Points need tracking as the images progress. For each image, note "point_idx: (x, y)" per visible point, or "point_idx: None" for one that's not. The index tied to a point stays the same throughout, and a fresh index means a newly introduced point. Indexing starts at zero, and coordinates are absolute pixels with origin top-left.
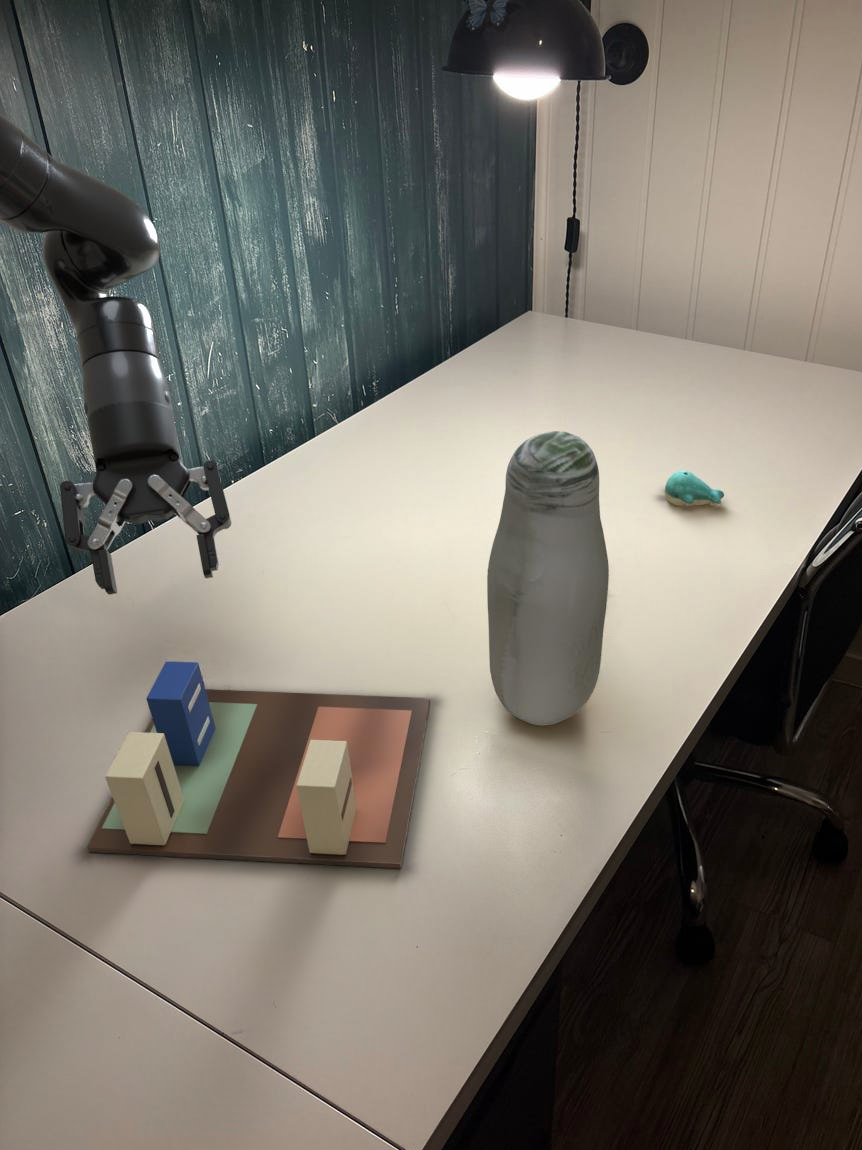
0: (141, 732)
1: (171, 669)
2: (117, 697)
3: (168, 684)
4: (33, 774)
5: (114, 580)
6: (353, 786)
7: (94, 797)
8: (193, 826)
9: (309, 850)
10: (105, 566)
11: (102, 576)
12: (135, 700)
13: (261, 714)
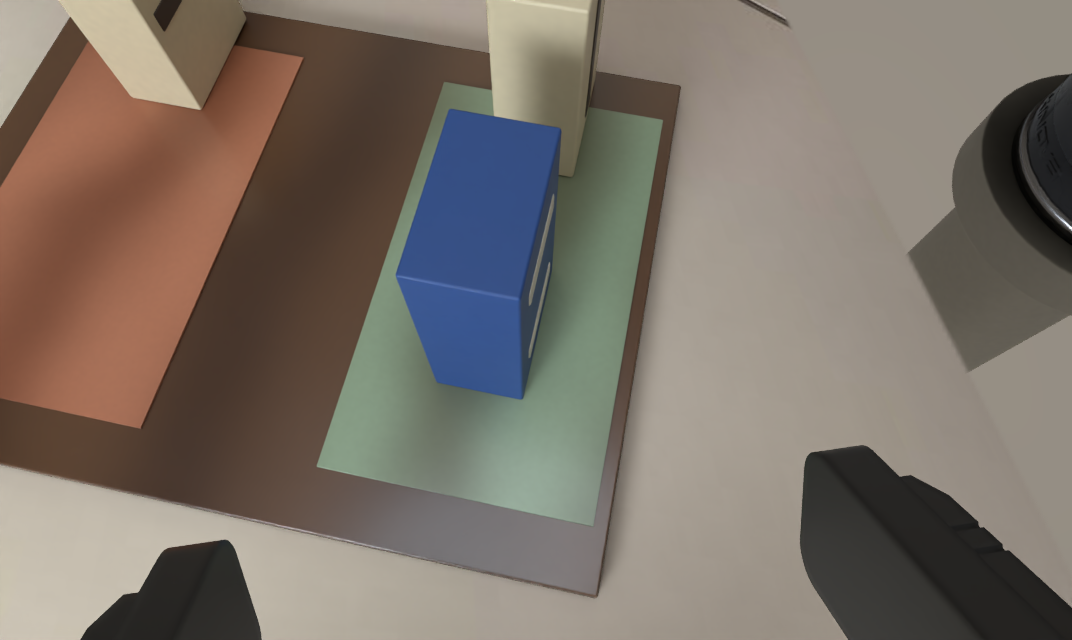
0: (550, 4)
1: (492, 249)
2: (758, 597)
3: (494, 176)
4: (883, 313)
5: (841, 598)
6: (92, 44)
7: (708, 225)
8: (471, 99)
9: (243, 12)
10: (923, 542)
11: (910, 488)
12: (696, 573)
13: (308, 422)
